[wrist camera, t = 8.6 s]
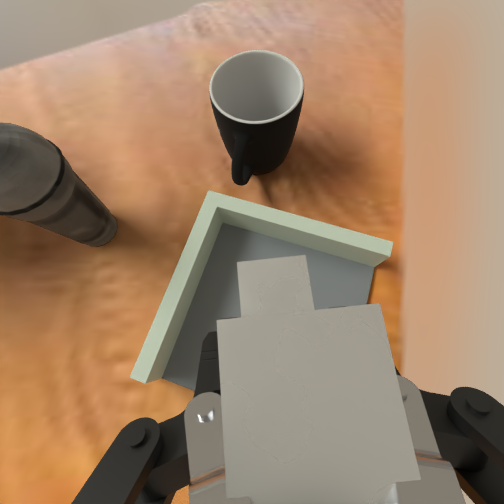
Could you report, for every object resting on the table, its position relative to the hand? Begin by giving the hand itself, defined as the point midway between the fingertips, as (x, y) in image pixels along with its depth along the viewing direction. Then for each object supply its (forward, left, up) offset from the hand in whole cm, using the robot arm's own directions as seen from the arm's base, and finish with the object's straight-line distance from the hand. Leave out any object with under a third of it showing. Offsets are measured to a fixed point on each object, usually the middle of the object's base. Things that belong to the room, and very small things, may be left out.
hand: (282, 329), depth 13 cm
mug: (+19, +8, -18) cm, 28 cm away
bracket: (0, 0, -4) cm, 4 cm away
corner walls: (+2, +1, -18) cm, 18 cm away
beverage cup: (+5, +23, -18) cm, 30 cm away
